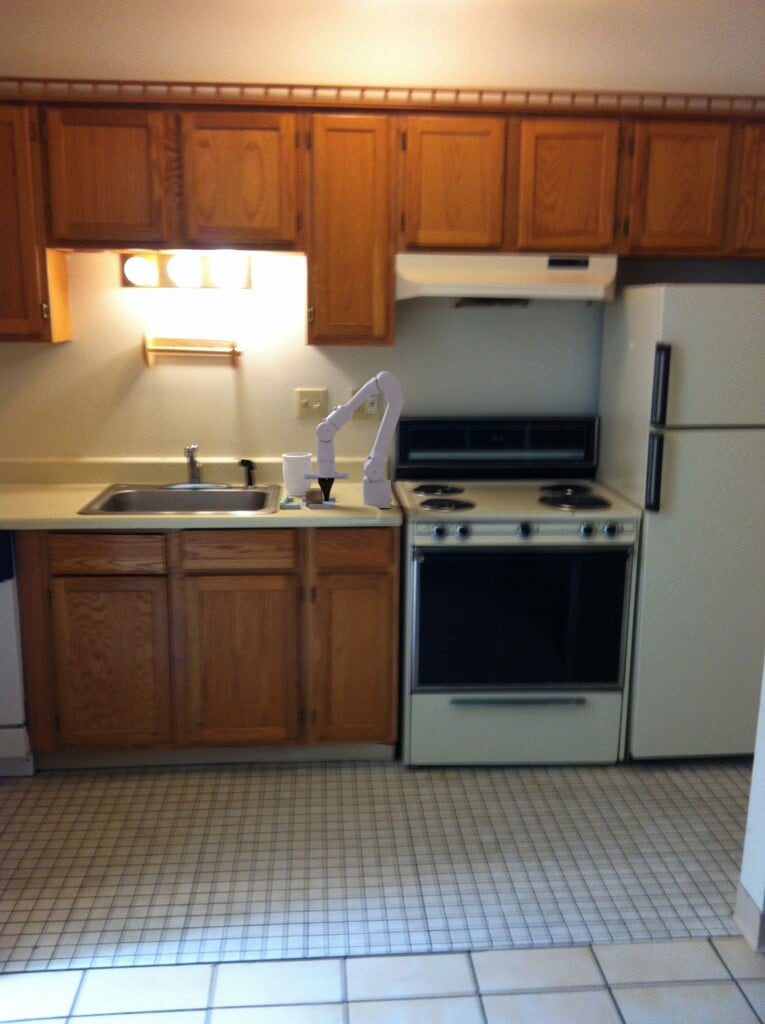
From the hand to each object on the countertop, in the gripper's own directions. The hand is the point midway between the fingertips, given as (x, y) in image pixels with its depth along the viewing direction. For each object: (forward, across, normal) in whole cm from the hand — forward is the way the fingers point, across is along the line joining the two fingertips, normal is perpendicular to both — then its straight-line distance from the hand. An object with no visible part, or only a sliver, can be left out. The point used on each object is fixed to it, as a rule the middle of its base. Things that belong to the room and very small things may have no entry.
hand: (326, 500), depth 277 cm
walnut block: (+1, -4, 0) cm, 4 cm away
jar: (+3, -12, +19) cm, 22 cm away
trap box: (+2, -6, 0) cm, 7 cm away
